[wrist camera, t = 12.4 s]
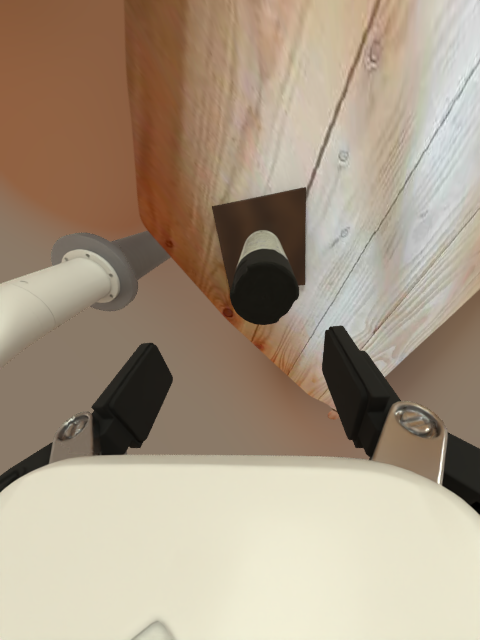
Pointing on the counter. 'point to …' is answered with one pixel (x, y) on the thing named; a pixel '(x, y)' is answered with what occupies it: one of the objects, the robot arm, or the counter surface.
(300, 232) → the chopping board
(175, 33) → the counter surface
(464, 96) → the counter surface
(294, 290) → the spray can
